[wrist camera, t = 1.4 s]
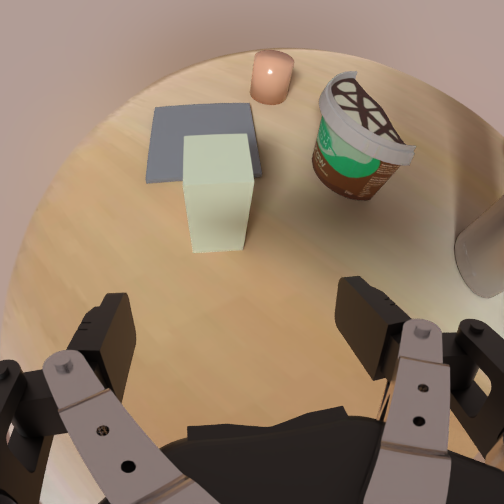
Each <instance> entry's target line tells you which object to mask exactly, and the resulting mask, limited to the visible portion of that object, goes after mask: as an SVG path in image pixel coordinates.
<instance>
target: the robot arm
mask: <svg viewBox="0 0 504 504" xmlns="http://www.w3.org/2000/svg"><path fill="white" fill-rule="evenodd" d="M455 256H456V261H457V266H458V268H459V271H460V274H461V275H462V277H463V279H464V281H465V282H466V284H467V285H468V287H469V288H470V289H471V290H472V291H473V292H474V293H476V294H477V295H479V296H481V297H484V298H491V297H494V296H496V295H498V294H499V293H501V292H503V291H504V195H503V196H502V197H501V198H500V199H499V200H498V201H496V202H495V203H494V204H493V205H492V206H491V207H490V208H489V209H488V210H487V211H485V212H484V213H483V214H482V215H481V216H480V217H479V218H477V219H476V220H475V221H474V222H473V223H472V224H471V225H469V226H468V227H467V228H466V229H465V230H464V231H462V232H461V233H460V234H459V236H458V237H457V240H456V243H455ZM335 322H336V326H337V328H338V330H339V331H340V332H341V334H342V335H343V337H344V338H345V340H346V341H347V343H348V344H349V346H350V347H351V349H352V350H353V352H354V353H355V355H356V356H357V358H358V359H359V361H360V362H361V363H362V365H363V366H364V368H365V369H366V371H367V372H368V374H369V375H370V377H371V378H372V380H373V381H375V380H379V379H382V378H386V379H387V382H386V385H385V389H384V392H383V396H382V400H381V404H380V407H379V411H378V414H377V418H376V419H373V418H369V417H362V416H348V415H347V413H346V411H345V409H344V407H343V406H339V407H335V408H330V409H325V410H320V411H315V412H310V413H306V414H304V415H301V416H299V417H296V418H294V419H291V420H288V421H286V422H283V423H280V424H278V425H275V426H272V427H258V426H245V425H234V424H218V425H203V426H187V438H183V439H180V440H177V441H174V442H171V443H169V444H167V445H165V446H163V447H161V448H160V449H159V448H158V447H157V446H156V445H155V444H154V443H153V442H152V441H151V439H150V438H149V437H148V436H147V435H146V434H145V433H144V431H143V430H142V429H141V428H140V427H139V425H138V424H137V423H136V422H135V420H134V419H133V418H132V417H131V416H130V414H129V413H128V412H127V410H126V409H125V408H124V407H123V405H122V399H123V395H124V390H125V386H126V382H127V377H128V373H129V369H130V365H131V361H132V357H133V353H134V349H135V345H136V331H135V326H134V321H133V317H132V312H131V307H130V302H129V298H128V295H127V293H107V294H106V296H105V297H104V299H103V301H102V303H101V305H100V307H94V308H93V309H91V310H90V311H89V312H88V313H86V315H85V316H84V318H83V320H82V322H81V324H80V325H79V327H78V330H77V331H76V332H75V334H74V336H73V338H72V340H71V342H70V344H69V345H68V347H67V349H66V350H63V351H59V352H56V353H54V354H53V355H51V356H50V357H48V358H47V359H46V361H45V362H44V364H43V369H42V370H36V371H30V372H24V373H23V371H22V369H21V367H20V365H19V364H18V363H17V362H16V361H14V360H3V361H0V504H39V500H40V494H41V489H42V484H43V479H44V474H45V470H46V465H47V461H48V457H49V452H50V448H51V445H52V441H53V437H54V435H57V434H63V433H69V435H70V437H71V439H72V441H73V443H74V445H75V447H76V448H77V450H78V452H79V454H80V456H81V457H82V459H83V461H84V463H85V464H86V466H87V468H88V469H89V471H90V473H91V474H92V476H93V478H94V479H95V481H96V482H97V484H98V486H99V487H100V489H101V490H102V492H103V493H104V495H105V496H106V497H105V498H104V499H103V500H102V501H101V502H99V503H98V504H504V339H503V338H502V337H501V336H500V335H498V334H497V333H496V332H495V331H494V330H493V329H492V328H491V327H489V326H488V325H487V324H485V323H484V322H482V321H479V320H475V319H465V320H463V321H461V322H460V325H459V328H458V331H457V333H442V331H441V329H440V328H439V327H438V326H437V325H436V324H434V323H433V322H430V321H428V320H424V319H411V318H410V317H409V316H408V315H407V314H406V313H405V312H404V311H403V310H402V309H401V308H400V307H398V306H397V305H395V303H394V302H393V301H392V300H390V298H389V297H388V296H387V295H386V294H385V293H384V292H382V291H380V290H378V289H376V288H374V287H372V286H370V285H369V284H368V283H367V282H366V281H365V280H364V279H362V278H361V277H360V276H353V277H343V278H341V279H340V280H339V283H338V291H337V299H336V307H335ZM479 368H480V369H481V370H482V371H483V372H484V373H485V374H486V375H487V376H488V377H489V379H490V381H491V386H492V387H491V392H490V394H489V396H488V397H487V395H486V394H485V393H484V392H483V391H482V389H481V388H480V387H479V386H478V385H477V384H476V382H475V381H474V378H475V376H476V373H477V371H478V369H479ZM450 409H451V411H452V412H453V413H454V415H455V416H456V418H457V419H458V421H459V422H460V423H461V425H462V426H463V428H464V429H465V431H466V432H467V434H468V435H469V437H470V438H471V439H472V441H473V442H474V444H475V445H476V447H477V448H478V450H479V451H480V453H481V454H482V456H483V457H484V459H485V463H486V464H485V463H482V462H479V461H476V460H474V459H471V458H468V457H466V456H463V455H460V454H458V453H455V452H452V451H450V450H447V446H448V434H449V416H450ZM11 423H12V424H13V426H14V429H13V432H12V434H11V437H10V440H9V443H8V445H7V441H6V435H7V432H8V429H9V426H10V424H11Z"/></svg>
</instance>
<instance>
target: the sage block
mask: <svg viewBox="0 0 504 504" xmlns="http://www.w3.org/2000/svg"><path fill="white" fill-rule="evenodd" d="M253 187H254V176H253V170H252V163H251V157H250V150H249V144H248V137H247V134H213V135H193V136H184V152H183V190H184V197H185V204H186V211H187V217H188V224H189V230H190V236H191V242H192V248H193V253H202V252H218V251H234V250H243V247H244V241H245V235H246V229H247V223H248V217H249V211H250V205H251V199H252V193H253Z"/></svg>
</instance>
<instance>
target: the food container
mask: <svg viewBox="0 0 504 504" xmlns="http://www.w3.org/2000/svg"><path fill="white" fill-rule="evenodd" d="M356 75H357V71H349V72H343V73H340V74H338V75H336V76H335V77H334V78H333V79H332V80H331V81H330V82H329V83H328V84H327V86H326V87H325V89H324V90H323V92H322V94H321V95H320V99H319V107H320V110H321V114H322V119H321V123H320V128H319V132H318V136H317V140H316V144H315V149H314V153H313V157H312V163H313V168H314V171H315V173H316V174H317V176H318V178H319V179H320V180H321V181H322V182H323V183H324V184H325V185H326V186H327V187H328V188H330V189H331V190H332V191H334V192H336V193H337V194H339V195H342V196H344V197H347V198H350V199H354V200H370V199H371V198H372V197H373V196H374V195H375V193H376V192H377V191H378V190H379V189H380V188H381V187H382V186H383V185H384V184H385V182H386V181H387V180H388V179H389V178H390V177H391V176H392V175H393V174H394V172H395V171H396V170H397V169H398V168H399V167H400V166H401V165H410V163H411V160H412V158H413V156H414V154H415V153H414V152H413V151H414V149H415V148H416V146H410V145H406V144H405V143H404V142H403V141H402V140H401V138H400V137H399V135H398V134H397V132H396V131H395V129H394V128H393V126H392V124H391V122H390V121H389V119H388V117H387V115H386V114H385V112H384V110H383V109H382V108H381V107H380V105H379V104H378V103H377V102H376V101H374V100H373V99H372V98H371V97H370V96H369V95H368V94H367V93H366V92H365V91H364V90H363V88H362V87H361V86H360V85H359V84H358V82H357V81H356V80H355V78H356Z"/></svg>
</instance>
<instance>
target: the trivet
mask: <svg viewBox="0 0 504 504" xmlns="http://www.w3.org/2000/svg"><path fill="white" fill-rule="evenodd" d="M213 134H247V137H248V144H249V150H250V157H251V163H252V170H253V176H254V177H261V176H262V171H261V165H260V159H259V154H258V148H257V142H256V137H255V131H254V126H253V120H252V115H251V109H250V104H249V103H215V104H193V105H178V106H166V107H155V111H154V117H153V124H152V131H151V138H150V145H149V153H148V162H147V171H146V183H158V182H171V181H183V152H184V136H193V135H213Z"/></svg>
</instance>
